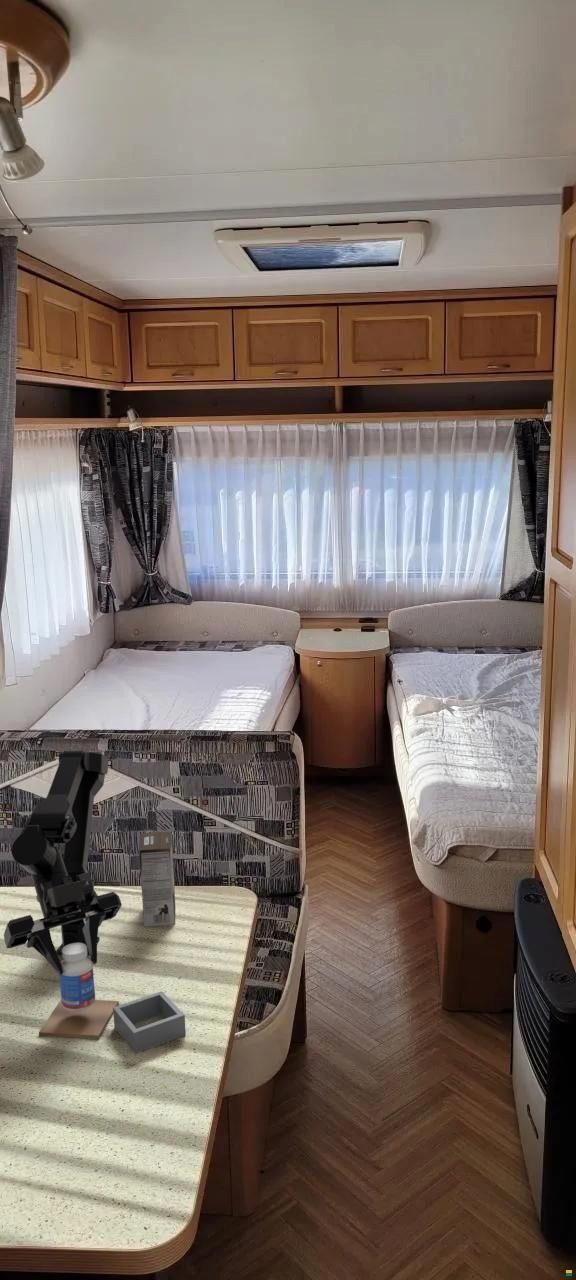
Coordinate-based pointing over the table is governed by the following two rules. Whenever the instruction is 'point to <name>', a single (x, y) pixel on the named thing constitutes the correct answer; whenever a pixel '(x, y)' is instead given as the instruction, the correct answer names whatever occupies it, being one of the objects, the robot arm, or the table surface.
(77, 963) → the pill bottle
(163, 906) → the coffee box
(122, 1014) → the holder box
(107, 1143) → the table surface
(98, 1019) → the walnut coaster
